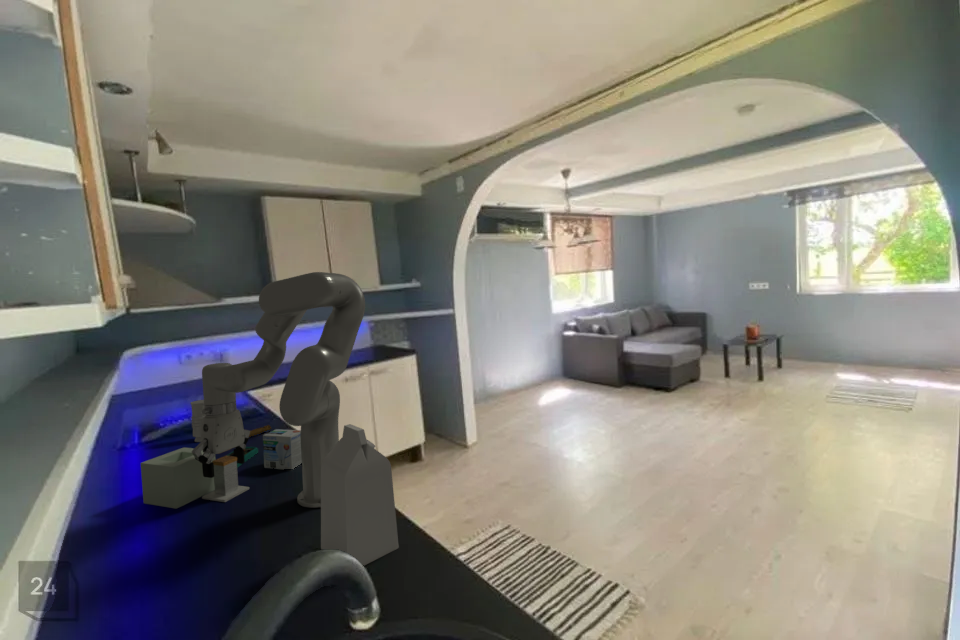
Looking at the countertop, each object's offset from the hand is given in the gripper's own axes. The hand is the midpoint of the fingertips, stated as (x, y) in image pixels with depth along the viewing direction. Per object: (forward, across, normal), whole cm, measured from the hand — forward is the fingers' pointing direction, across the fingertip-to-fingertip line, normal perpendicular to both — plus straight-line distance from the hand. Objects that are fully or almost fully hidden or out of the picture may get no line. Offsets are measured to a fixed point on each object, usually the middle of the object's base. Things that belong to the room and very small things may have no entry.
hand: (224, 469), depth 119 cm
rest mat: (+7, 0, 0) cm, 7 cm away
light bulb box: (+7, +21, -1) cm, 22 cm away
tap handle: (+7, +35, +35) cm, 50 cm away
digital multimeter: (+7, +20, +18) cm, 28 cm away
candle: (+7, +35, +51) cm, 62 cm away
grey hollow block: (+7, -4, +12) cm, 14 cm away
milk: (+7, -13, -51) cm, 53 cm away
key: (+6, 0, 0) cm, 6 cm away
